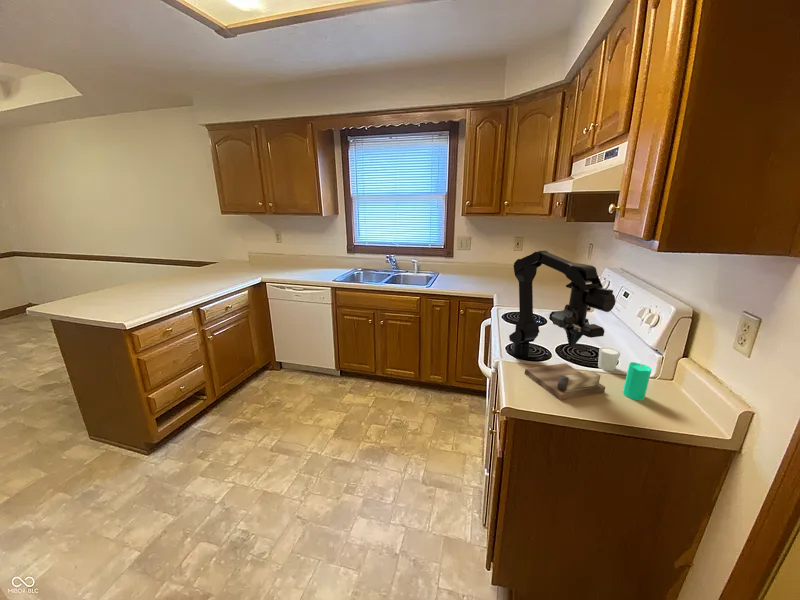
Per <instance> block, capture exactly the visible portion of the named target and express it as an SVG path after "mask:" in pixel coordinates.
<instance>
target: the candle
mask: <svg viewBox="0 0 800 600" xmlns="http://www.w3.org/2000/svg"><path fill="white" fill-rule="evenodd" d="M651 374H652V368H651V367H650V366H648V365H647V364H642V361H641V362H634V361H631V362H629V364H628V367H627V373H626V376H625V380H624V385H623V391H622V394H623V395H624V396H626V398H629V399H631V400H634V401H635V399H636V401H643V400H644V399H645V398H646V393H647V389H648V385H649V381H650V377H651Z"/></svg>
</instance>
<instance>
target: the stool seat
mask: <svg viewBox="0 0 800 600" xmlns="http://www.w3.org/2000/svg"><path fill="white" fill-rule="evenodd" d="M578 373H582V371H579V370H578V369H576V368H574V367H573V366H571V365H570V364H568V363H566V362H564V363H557V364H556V363H555V364H548V365H543V366H534V367H529V368H528V367H527V368H525V369H524V375H526V376H527V375H528V376H529V377H528V376H527V377H528V378H530V379H531V378H532V379H533V382H535V381H536V382H537V383H536V382H535V383H536V384H538V386H540V385H541V386H540V387H542V388H543V389H544V388H545V390H546V391H547V392H548V391H549V392H548V393H550V394H551V395H553V396H554V397H555V398H557V399H558V400H559V401H564V400H569V399H573V398H579V397H580V398H581V397H586V396H590V395H597V394H602V393H605V390H606V386H605V385H603V384H602V383H600V382H599V385H595V386H589V387H583V388H577V389H571V390H560V389H558V388H557V386H558V380H559V376H561V375H562V376H565V375H572V374H578ZM532 379H531V380H532Z"/></svg>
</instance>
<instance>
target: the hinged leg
mask: <svg viewBox="0 0 800 600" xmlns="http://www.w3.org/2000/svg"><path fill="white" fill-rule="evenodd" d="M600 379H601V374H599V373H597V372H595V371H594V370H592V371H586V372H581V373H578V374H572V375H565V376H562V375H561V376H559V380H558V386H557V388H558V389H560V390H571V389H577V388H583V387H589V386H595V385H599V383H600Z"/></svg>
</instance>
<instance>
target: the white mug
mask: <svg viewBox="0 0 800 600" xmlns="http://www.w3.org/2000/svg"><path fill="white" fill-rule="evenodd" d="M620 356H621V352H620V351H618V350H616V349H614V348H611V347H600V348H599V351H598V360H597V361H598V363H597V367H598V368H599V369H600V370H603V371H606V372H614V371H615V370H616V368H617V364H618V361H619V358H620Z"/></svg>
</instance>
